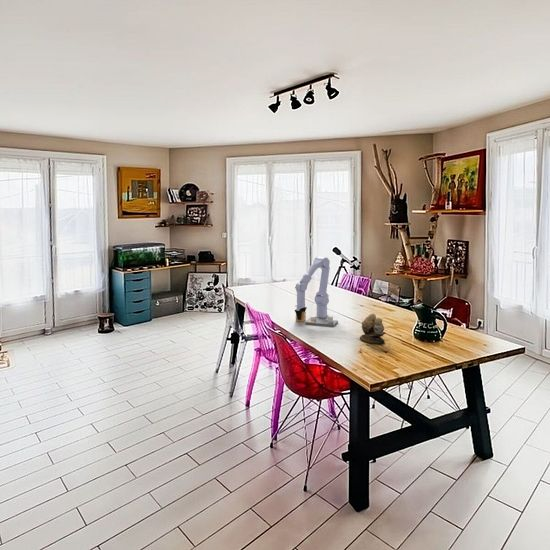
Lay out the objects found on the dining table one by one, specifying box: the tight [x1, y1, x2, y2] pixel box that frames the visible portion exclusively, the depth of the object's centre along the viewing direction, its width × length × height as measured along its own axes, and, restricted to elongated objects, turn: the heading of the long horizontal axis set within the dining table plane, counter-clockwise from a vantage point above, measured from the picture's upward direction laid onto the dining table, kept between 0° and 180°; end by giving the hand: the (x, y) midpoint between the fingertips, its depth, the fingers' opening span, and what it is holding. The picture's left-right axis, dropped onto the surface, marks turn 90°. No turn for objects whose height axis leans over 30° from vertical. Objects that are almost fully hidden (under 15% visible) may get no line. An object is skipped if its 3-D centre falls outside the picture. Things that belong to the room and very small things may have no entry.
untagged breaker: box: [327, 315, 334, 323], centre depth 299 cm, size 3×3×4 cm
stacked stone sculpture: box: [359, 313, 386, 345], centre depth 260 cm, size 18×12×17 cm, turn 34°
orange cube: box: [295, 311, 307, 323], centre depth 309 cm, size 6×6×6 cm
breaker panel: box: [304, 317, 339, 328], centre depth 301 cm, size 12×20×2 cm, turn 70°
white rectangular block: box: [310, 315, 317, 321], centre depth 303 cm, size 3×3×4 cm
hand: (300, 318), depth 309 cm, fingers open, 7 cm apart
